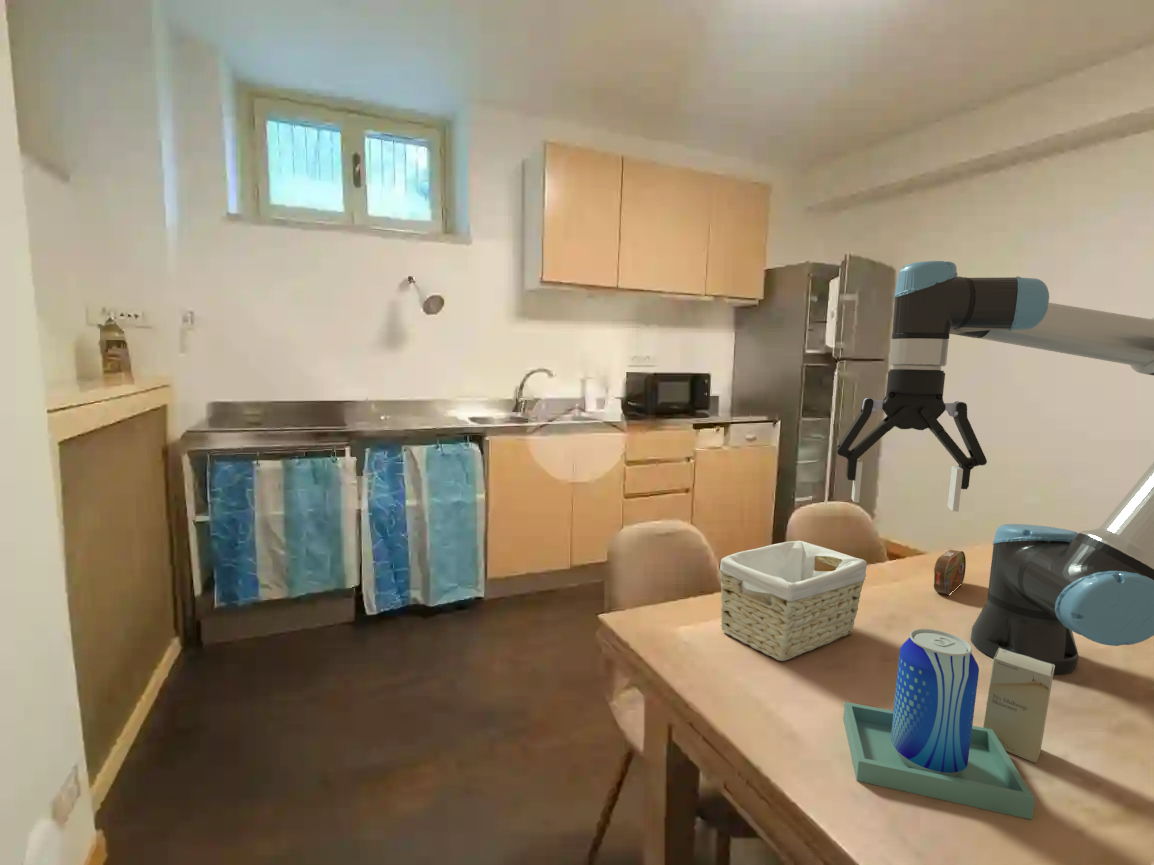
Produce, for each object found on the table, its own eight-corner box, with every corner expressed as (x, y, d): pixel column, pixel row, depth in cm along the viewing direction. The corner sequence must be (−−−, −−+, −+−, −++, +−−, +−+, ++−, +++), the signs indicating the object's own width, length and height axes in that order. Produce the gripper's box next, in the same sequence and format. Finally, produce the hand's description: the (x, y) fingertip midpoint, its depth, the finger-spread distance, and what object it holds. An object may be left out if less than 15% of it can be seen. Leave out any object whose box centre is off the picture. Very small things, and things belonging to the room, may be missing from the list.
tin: (944, 600, 126) (949, 562, 125) (928, 595, 129) (932, 558, 127) (965, 583, 136) (969, 548, 135) (950, 579, 139) (954, 545, 137)
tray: (989, 747, 78) (992, 729, 77) (1031, 819, 65) (1034, 798, 65) (843, 718, 83) (844, 701, 83) (856, 780, 71) (858, 761, 70)
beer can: (979, 788, 69) (995, 662, 67) (902, 776, 71) (915, 653, 69) (949, 743, 77) (962, 629, 75) (881, 733, 79) (892, 622, 77)
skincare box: (980, 741, 79) (991, 657, 77) (986, 727, 82) (997, 646, 80) (1039, 765, 74) (1051, 676, 73) (1043, 749, 78) (1055, 663, 76)
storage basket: (790, 604, 122) (796, 536, 120) (865, 635, 109) (872, 559, 107) (711, 632, 109) (715, 556, 107) (785, 671, 96) (791, 586, 94)
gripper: (1003, 370, 88) (987, 507, 90) (825, 365, 95) (815, 492, 98) (1024, 371, 81) (1006, 519, 83) (829, 366, 88) (818, 502, 91)
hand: (902, 505), depth 91 cm, fingers open, 13 cm apart
